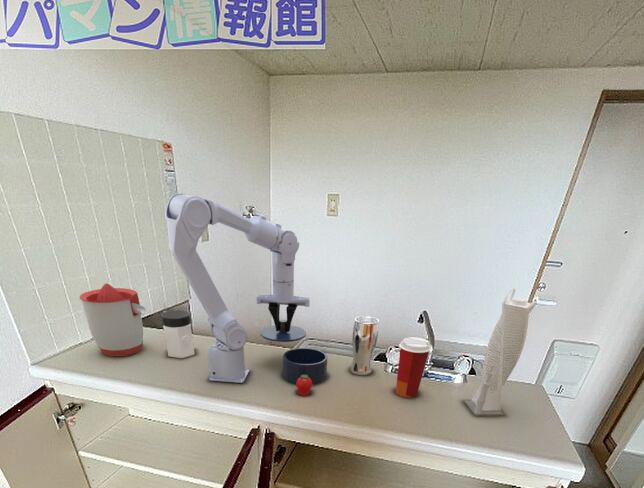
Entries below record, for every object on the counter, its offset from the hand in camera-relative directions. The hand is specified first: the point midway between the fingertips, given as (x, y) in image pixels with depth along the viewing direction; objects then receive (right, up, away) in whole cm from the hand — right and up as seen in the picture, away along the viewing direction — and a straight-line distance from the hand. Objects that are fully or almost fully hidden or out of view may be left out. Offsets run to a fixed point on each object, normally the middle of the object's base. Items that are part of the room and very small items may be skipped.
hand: (283, 330), depth 115 cm
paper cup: (+33, -19, -8) cm, 39 cm away
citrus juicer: (-50, -3, +11) cm, 52 cm away
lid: (0, -1, +1) cm, 1 cm away
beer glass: (+23, -11, +3) cm, 26 cm away
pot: (+6, -13, -1) cm, 15 cm away
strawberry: (+6, -19, -9) cm, 22 cm away
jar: (-32, -4, +11) cm, 34 cm away
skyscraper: (+52, -24, -13) cm, 58 cm away
